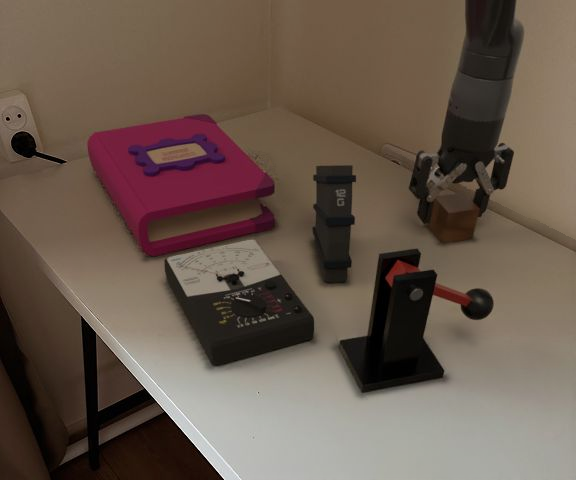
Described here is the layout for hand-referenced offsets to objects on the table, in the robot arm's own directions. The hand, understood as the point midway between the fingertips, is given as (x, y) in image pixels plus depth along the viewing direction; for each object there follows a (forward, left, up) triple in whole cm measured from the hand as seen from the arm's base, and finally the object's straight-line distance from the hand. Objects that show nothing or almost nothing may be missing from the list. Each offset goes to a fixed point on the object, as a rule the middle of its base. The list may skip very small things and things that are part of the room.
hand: (450, 218), depth 94 cm
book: (+37, -19, -3) cm, 42 cm away
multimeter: (+35, +11, -3) cm, 37 cm away
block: (-1, 0, -3) cm, 3 cm away
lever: (+15, +25, +5) cm, 30 cm away
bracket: (+19, +25, -3) cm, 32 cm away
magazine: (+19, +2, -3) cm, 20 cm away
